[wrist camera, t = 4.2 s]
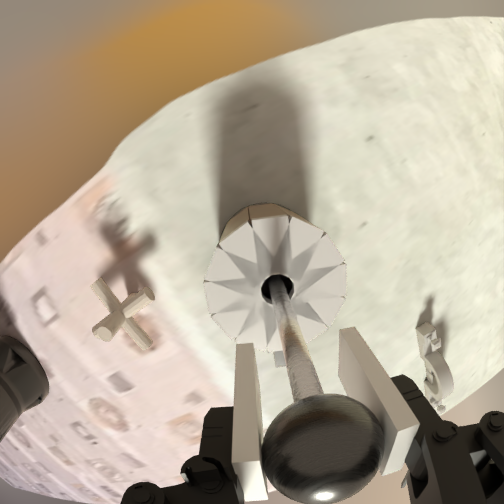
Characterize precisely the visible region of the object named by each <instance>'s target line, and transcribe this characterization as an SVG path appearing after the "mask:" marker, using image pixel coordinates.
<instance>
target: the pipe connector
mask: <svg viewBox="0 0 504 504" xmlns="http://www.w3.org/2000/svg"><path fill="white" fill-rule="evenodd" d="M90 287H91V289H92V290H93V291H94V293H95V294H96V295H97V297H98V298H99V299H100V300H101V302H102V303H103V304H104V306H105V307H106V308H107V309H108V311H109V312H110V314H109V315H108V316H107V317H105V318H104V319H103V320H101V321H100V322H99V323H98V324H96V325H95V326H94V327H93V329H92V332H93V334H94V336H95V337H96V338H98V339H101V340H103V341H106V342H109V341H110V340H111V339H112V338H113V337H114V335H115V334H116V333H117V332H118V330H119V329H120V328H121V327H122V328H123V329H124V330H125V331H126V332H127V333H128V335H129V336H130V337H131V338H132V339H133V340H134V341H135V343H136V344H137V345H138V346H139V347H140V348H141V349H142V350H143V351H144V350H146V349H147V348H148V347H150V346H151V344H152V343H153V341H152V339H151V338H150V337H149V336H148V335H147V334H146V333H145V331H144V330H143V329H142V328H141V327H140V326H139V324H138V323H137V322H136V321H135V320H134V318H133V317H132V316H133V315H134V314H136V313H137V312H138V311H140V310H141V309H143V308H144V307H145V306H147V305H148V304H149V303H151V302H152V301H154V300H155V296H154V293H153V292H152V290H151V289H150V288H148V287H144V288H143V289H142V290H140V291H139V292H138V293H131V294H130V295H129V296H128V297H127V298H126V299H125V300H124V301H123V302H122V303H121V302H120V301H119V300H118V299H117V297H116V296H115V295H114V294H113V292H112V291H111V290H110V288H109V287H108V286H107V284H106V283H105V282H104V280H103V279H102V278H101V277H100V278H99V279H98V280H97V281H95V282H94V283H93V284H92V285H91V286H90Z"/></svg>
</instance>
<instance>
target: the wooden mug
mask: <svg viewBox="0 0 504 504" xmlns="http://www.w3.org/2000/svg"><path fill="white" fill-rule="evenodd" d="M344 261H345V260H344V258H343V257H342V255H341V254H340V252H339V251H338V249H337V247H336V246H335V244H334V243H333V241H332V240H331V238H330V237H329V235H328V234H327V233H326V232H324V231H323V230H322V229H320V228H318V227H316V226H315V225H313V224H312V223H310V222H309V221H307V220H306V219H304V218H302V217H301V216H299V215H298V214H296V213H294V212H292V211H291V210H289V209H287V208H285V207H283V206H280V205H277V204H274V203H258V204H253V205H250V206H248V207H246V208H243V209H242V210H240V211H239V212H237V213H236V214H235V215H234V216H233V217H232V218H231V219H230V220H229V221H228V222H227V224H226V226H225V228H224V230H223V232H222V235H221V238H220V241H219V243H218V244H217V246H216V249H215V251H214V254H213V256H212V259H211V261H210V264H209V266H208V269H207V272H206V274H205V277H204V279H205V280H204V282H203V284H204V289H205V295H206V300H207V305H208V310H209V314H212V315H211V318H212V319H213V320H214V321H215V322H216V323H217V325H218V326H219V327H220V328H221V329H222V330H223V331H224V332H225V333H226V334H227V336H228V337H229V338H230V339H231V340H233V339H234V338H235V342H236V343H239V344H244V343H253V345H254V349H256V350H259V351H263V352H264V351H265V350H266V348H267V349H268V352H273V353H274V359H275V365H276V367H283V366H286V362H285V358H284V353H283V349H282V344H281V339H280V335H279V330H278V326H277V321H276V317H275V312H274V308H273V303H272V300H271V299H268V298H266V297H265V296H264V295H263V293H262V292H261V287H262V284H263V282H264V280H266V279H267V278H268V277H270V276H271V275H276V274H282V275H284V276H287V277H289V278H290V280H291V281H292V289H291V291H290V293H289V295H288V296H289V299H290V302H291V304H292V307H293V310H294V312H295V315H296V318H297V321H298V323H299V326H300V329H301V332H302V334H303V337H304V340H305V343H306V344H307V343H309V342H310V341H312V340H313V339H315V338H316V337H318V336H319V335H321V334H322V333H324V332H325V331H326V330H328V327H327V326H326V325H328V326H331V325H332V324H333V322H334V320H335V318H336V316H337V315H338V313H339V311H340V309H341V307H342V305H343V304H344V302H345V300H346V299H345V297H344V296H347V275H346V264H345V263H344Z"/></svg>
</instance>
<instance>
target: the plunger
mask: <svg viewBox="0 0 504 504" xmlns="http://www.w3.org/2000/svg"><path fill="white" fill-rule="evenodd" d="M291 289H292V281H291V280H290V278H289V277H287V276H284V275H282V274H276V275H271V276H270V277H268V278H267V279H266V280H264V282H263V284H262V287H261V292H262V293H263V295H264V296H265V297H266V298H268V299H271V300H272V303H273V308H274V312H275V317H276V321H277V326H278V330H279V335H280V339H281V344H282V349H283V353H284V358H285V362H286V367H287V372H288V376H289V381H290V385H291V390H292V395H293V399H294V403H293V404H291V405H289V406H288V407H286V408H285V409H284V410H283V411H282V412H280V413H279V414H278V415H277V416H276V418H275V419H274V420H273V421H272V423H271V424H270V426H269V427H268V429H267V431H266V434H265V436H264V439H263V443H262V448H261V450H262V463H263V468H264V471H265V474H266V476H267V478H268V480H269V481H270V483H271V484H272V485H273V486H274V487H275V488H276V489H277V490H278V491H279V492H280V493H282V494H283V495H284V496H286V497H288V498H290V499H292V500H294V501H297V502H300V503H304V504H332V503H336V502H339V501H342V500H345V499H347V498H349V497H351V496H353V495H355V494H356V493H358V492H359V491H360V490H362V489H363V488H364V487H365V486H366V485H367V484H368V483H369V482H370V481H371V480H372V478H373V477H374V476H375V474H376V473H377V471H378V469H379V467H380V465H381V462H382V460H383V456H384V450H385V438H384V433H383V430H382V427H381V424H380V422H379V421H378V419H377V417H376V416H375V414H374V413H373V412H372V411H371V410H370V409H369V408H368V407H367V406H365V405H364V404H362V403H361V402H359V401H357V400H355V399H353V398H351V397H348V396H344V395H339V394H324V393H323V390H322V387H321V385H320V382H319V379H318V376H317V373H316V370H315V368H314V365H313V362H312V359H311V356H310V354H309V351H308V348H307V345H306V343H305V340H304V337H303V334H302V332H301V329H300V326H299V323H298V321H297V318H296V315H295V312H294V310H293V307H292V304H291V302H290V299H289V296H288V295H289V293H290V291H291Z"/></svg>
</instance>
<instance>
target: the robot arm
mask: <svg viewBox="0 0 504 504" xmlns="http://www.w3.org/2000/svg"><path fill="white" fill-rule="evenodd" d="M338 376H339V378H340V380H341V382H342V385H343V387H344V389H345V391H346V393H347V396H348V397H351V398H353V399H355V400H357V401H359V402H361V403H362V404H364V405H365V406H367V407H368V408H369V409H370V410H371V411H372V412H373V413H374V414H375V416H376V417H377V419H378V421H379V422H380V424H381V427H382V430H383V433H384V438H385V450H384V456H383V460H382V462H381V465H380V467H379V470H380V473H381V475H382V476H384V475H387V474H390V473H393V472H396V471H399V470H401V469H402V466H403V464H404V462H405V463H406V465H407V467H408V469H409V470H408V472H407V474H406V476H405V478H404V480H403V482H402V485H401V488H403V487H405V485H406V483H407V485H408V490H409V495H410V502H411V504H504V413H502V412H499V411H491V412H488V413H486V414H485V415H484V416H483V417H482V418H481V420H480V422H479V423H477V424H473V425H467V426H460V427H458V426H457V425H456V424H454V423H453V422H450V421H445V420H444V421H443V420H442V419H441V418H440V416H439V415H438V414H437V412H436V411H435V410H434V408H433V407H432V405H431V404H430V403H429V401H428V400H427V399H426V397H425V396H423V393H422V392H421V391H420V390H419V388H418V387H417V385H416V384H415V383H414V381H413V380H412V379H410V378H408V377H407V376H405V375H403V374H402V375H399V376H395V377H392V378H390V377H389V376H388V374H387V373H386V371H385V370H384V368H383V367H382V365H381V364H380V362H379V361H378V359H377V358H376V357H375V355H374V354H373V352H372V351H371V349H370V348H369V346H368V345H367V344H366V342H365V341H364V339H363V338H362V336H361V335H360V334H359V332H358V331H357V329H356V328H355V327H350V328H345V329H340V330H339V369H338ZM48 393H49V384H48V380H47V377H46V375H45V373H44V371H43V369H42V367H41V366H40V364H39V362H38V361H37V360H36V358H35V357H34V356H33V355H32V353H31V352H30V351H29V350H28V349H27V348H26V347H25V346H24V345H23V344H21V343H20V342H19V341H17V340H16V339H14V338H12V337H9V336H2V337H0V442H1V441H2V439H3V438H4V437H5V435H6V434H7V432H8V431H9V430H10V428H11V427H12V426H13V424H14V423H15V422H16V420H17V419H18V418H19V416H20V415H21V414H22V413H23V412H25V411H26V410H28V409H30V408H32V407H34V406H36V405H38V404H40V403H41V402H43V400H44V399H45V398H46V397H47V395H48ZM263 439H264V437H263V424H262V410H261V396H260V385H259V379H258V372H257V365H256V358H255V352H254V345H253V343H244V344H236V364H235V387H234V406H232V407H216V408H211V409H210V410H209V411H208V413H207V414H206V416H205V417H204V423H203V430H202V438H201V443H200V450H199V455H196V456H193V457H191V458H190V459H188V460H187V461H186V462H185V463H184V464H183V466H182V468H181V475H182V477H183V479H184V480H185V482H184V483H182V484H179V485H175V486H169V487H164V488H159V487H158V486H157V485H156V484H153V483H150V482H139V483H136V484H133V485H132V486H130V487H129V488H127V490H126V492H125V493H124V495H123V498H122V501H121V503H120V504H244V499H245V501H257V500H268V491H267V478H266V474H265V471H264V468H263V463H262V450H261V448H262V443H263Z"/></svg>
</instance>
